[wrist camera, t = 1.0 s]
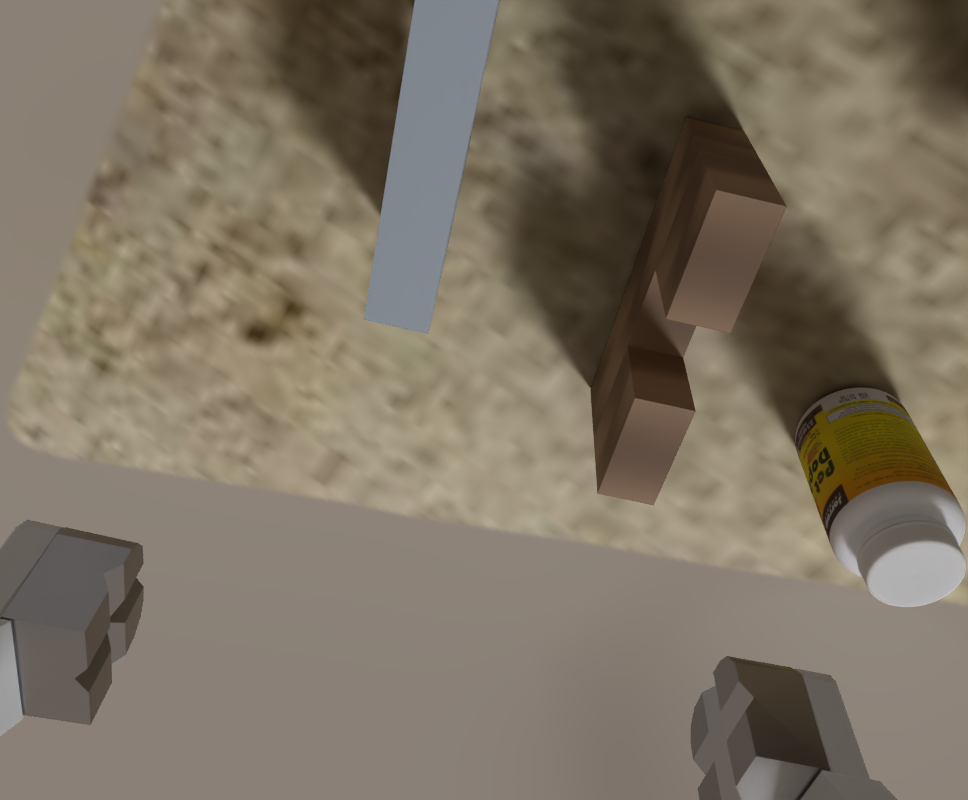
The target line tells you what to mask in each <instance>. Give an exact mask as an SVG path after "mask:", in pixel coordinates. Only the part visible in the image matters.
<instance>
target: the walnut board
mask: <svg viewBox="0 0 968 800" xmlns="http://www.w3.org/2000/svg"><path fill="white" fill-rule="evenodd" d="M786 207H787V206H786V205H785V203H784V201H783V199H782V198H781V196H780V194H779V192H778V190H777V189H776V187H775V185H774V183H773V182H772V180H771V178H770V176H769V175H768V173H767V171H766V169H765V167H764V166H763V164H762V162H761V160H760V159H759V157H758V155H757V153H756V151H755V150H754V148H753V146H752V144H751V143H750V141H749V139H748V137H747V135H746V134H745V132H744V131H742V130H738V129H733V128H729V127H725V126H721V125H717V124H713V123H709V122H705V121H700V120H696V119H692V118H688V117H686V119H685V122H684V125H683V128H682V130H681V133H680V136H679V139H678V142H677V145H676V148H675V150H674V153H673V156H672V159H671V162H670V165H669V167H668V170H667V173H666V176H665V179H664V182H663V184H662V187H661V190H660V193H659V196H658V199H657V201H656V204H655V207H654V210H653V213H652V216H651V219H650V221H649V224H648V227H647V230H646V233H645V236H644V238H643V241H642V244H641V247H640V250H639V253H638V255H637V258H636V261H635V264H634V267H633V270H632V273H631V275H630V278H629V281H628V284H627V287H626V290H625V292H624V295H623V298H622V301H621V304H620V307H619V309H618V312H617V315H616V318H615V321H614V324H613V326H612V329H611V332H610V335H609V338H608V341H607V344H606V346H605V349H604V352H603V355H602V358H601V361H600V363H599V366H598V369H597V372H596V375H595V378H594V380H593V383H592V386H591V403H592V418H593V433H594V447H595V462H596V477H597V492H598V494H602V495H607V496H612V497H617V498H622V499H626V500H631V501H636V502H641V503H645V504H650V505H654V503H655V501H656V499H657V497H658V494H659V492H660V490H661V488H662V485H663V483H664V481H665V479H666V476H667V474H668V472H669V470H670V467H671V465H672V463H673V461H674V458H675V456H676V454H677V452H678V449H679V447H680V445H681V443H682V440H683V438H684V436H685V434H686V431H687V429H688V427H689V425H690V422H691V420H692V418H693V416H694V413H695V407H694V403H693V398H692V394H691V390H690V385H689V381H688V377H687V373H686V368H685V364H684V360H683V357H684V354H685V352H686V349H687V347H688V345H689V342H690V340H691V337H692V335H693V332H694V330H695V328H696V326H700V327H704V328H709V329H713V330H718V331H722V332H727V333H731V330H732V328H733V326H734V324H735V321H736V319H737V317H738V315H739V312H740V310H741V308H742V306H743V303H744V301H745V299H746V297H747V294H748V292H749V290H750V288H751V285H752V283H753V281H754V279H755V276H756V274H757V272H758V270H759V267H760V265H761V263H762V261H763V258H764V256H765V254H766V252H767V249H768V247H769V245H770V243H771V240H772V238H773V236H774V234H775V231H776V229H777V227H778V225H779V222H780V220H781V218H782V216H783V213H784V211H785V209H786Z"/></svg>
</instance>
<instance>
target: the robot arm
mask: <svg viewBox="0 0 968 800" xmlns="http://www.w3.org/2000/svg"><path fill="white" fill-rule="evenodd" d="M142 565H143V546H142V545H140V544H139V543H135V542H130V541H125V540H121V539H116V538H112V537H107V536H103V535H98V534H93V533H89V532H84V531H80V530H75V529H70V528H66V527H65V528H64V527H59V526H54V525H50V524H45V523H40V522H35V521H31V520H26V521H25V522H23V523H22V524H20V525H19V526H17V527H16V528H15V529H14V531H13V532H12V533H11V535H10V536H9V537H8V539H7V540H6V541H5V543H4V544H3V546H2V547H1V548H0V736H1V735H2V734H4V733H5V732H6V731H8V730H9V729H10V728H12V727H13V726H14V725H16V724H17V723H18V722H20V721H21V720H22V719H23V715H27V716H34V717H41V718H47V719H55V720H61V721H68V722H74V723H81V724H88V725H91V723H92V721H93V719H94V717H95V715H96V713H97V711H98V709H99V707H100V705H101V703H102V701H103V699H104V697H105V695H106V693H107V691H108V689H109V687H110V685H111V683H112V663H113V662H115V661H116V660H118V659H120V658H121V657H123V656H124V655H126V653H127V651H128V649H129V647H130V644H131V643H132V640H133V638H134V636H135V633H136V630H137V626H138V623H139V620H140V617H141V612H142V606H143V594H144V592H143V590H144V587H143V586H142V584H141V583H140V582H139V581H138V579H137V578H136V577H137V575H138V573H139V571H140V569H141V567H142ZM713 674H714V679H715V684H716V686H714V687H712V688H710V689H709V690H706V691H704V692H702V694H701V696H700V698H699V700H698V702H697V704H696V706H695V708H694V713H693V718H692V723H691V748H692V754H693V760H694V761H695V762H696V763H697V764H698V766H699V767H700V768H701V770H702V771H703V772H704V774H705V775H706V776H705V777H704V779H703V781H702V783H701V784H700V786H699V788H698V792H699V799H700V800H897V799H896V798H895V797H894V796H893V795H892V793H891V792H890V791H888V789H887V788H886V787H885V786H884V785H883V784H882V783H881V782H880V781H876V780H871V779H870V778H869V775H868V772H867V770H866V767H865V764H864V761H863V758H862V755H861V752H860V749H859V746H858V743H857V740H856V738H855V735H854V732H853V729H852V726H851V723H850V721H849V718H848V715H847V712H846V709H845V706H844V703H843V700H842V697H841V695H840V692H839V689H838V686H837V683H836V681H835V680H834V679H833V678H832V677H831V676H830V675H827V674H821V673H816V672H811V671H805V670H800V669H792V668H791V667H785V666H779V665H774V664H768V663H763V662H757V661H752V660H746V659H741V658H735V657H729V656H726V657H725V658H723V659H722V660H721V661H720V662H719V664H718V665H717V667H716V669H715V671H714V672H713Z"/></svg>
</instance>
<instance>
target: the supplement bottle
mask: <svg viewBox="0 0 968 800" xmlns="http://www.w3.org/2000/svg"><path fill="white" fill-rule="evenodd" d="M795 445H796V450H797V453H798V456H799V459H800V462H801V465H802V467H803V470H804V473H805V476H806V478H807V481H808V484H809V486H810V489H811V493H812V495H813V498H814V500H815V503H816V506H817V509H818V512H819V514H820V517H821V520H822V523H823V525H824V528H825V531H826V534H827V536H828V539H829V542H830V545H831V547H832V549H833V552H834V554H835V556H836V557H837V559H838V560H839V562H840V563H841V564H842V565H843V566H844V567H845V568H847V569H848V570H849V571H851V572H853V573H854V574H856V575H858V576H861V577H863V579H864V581H865V583H866V585H867V588H868V589H869V591H870V592H871V594H872V595H873V596H874V597H875V598H877V599H878V600H880V601H882V602H884V603H886V604H889V605H893V606H899V607H912V606H920V605H925V604H929V603H932V602H934V601H937V600H939V599H941V598H943V597H945V596H946V595H948V594H949V593H951V592H952V591H953V590H954V589H955V588H956V587H957V586H958V585H959V584H960V582H961V581H962V579H963V577H964V575H965V572H966V560H965V557H964V555H963V553H962V551H961V549H960V547H959V546H960V544H961V542H962V540H963V537H964V534H965V528H966V526H965V516H964V513H963V511H962V508H961V506H960V504H959V502H958V501H957V499H956V497H955V495H954V494H953V492H952V490H951V488H950V487H949V485H948V483H947V481H946V480H945V478H944V476H943V474H942V473H941V471H940V469H939V467H938V465H937V464H936V462H935V460H934V458H933V457H932V455H931V453H930V451H929V449H928V448H927V446H926V444H925V442H924V441H923V439H922V437H921V435H920V434H919V432H918V430H917V428H916V426H915V425H914V423H913V421H912V419H911V418H910V416H909V414H908V413H907V411H906V409H905V408H904V406H903V405H902V404H901V403H900V402H899V401H898V400H897V399H896V398H894V397H893V396H891V395H890V394H888V393H886V392H883V391H881V390H877V389H873V388H849V389H844V390H840V391H837V392H834V393H832V394H829V395H827V396H825V397H823V398H822V399H820V400H819V401H817V402H816V403H814V404H813V405H812V406H811V407H810V408H809V409H808V410H807V411H806V412H805V414H804V415H803V417H802V418H801V420H800V422H799V424H798V426H797V430H796V435H795Z"/></svg>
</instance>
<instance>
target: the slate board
mask: <svg viewBox="0 0 968 800" xmlns="http://www.w3.org/2000/svg"><path fill="white" fill-rule="evenodd" d="M499 1H500V0H415V3H414V9H413V15H412V21H411V28H410V34H409V40H408V47H407V53H406V59H405V65H404V72H403V78H402V84H401V90H400V97H399V103H398V109H397V115H396V122H395V128H394V134H393V140H392V147H391V153H390V159H389V165H388V172H387V178H386V184H385V190H384V197H383V203H382V209H381V215H380V222H379V228H378V234H377V241H376V247H375V253H374V259H373V266H372V272H371V278H370V284H369V291H368V297H367V303H366V309H365V316H364V320H368V321H372V322H377V323H381V324H386V325H391V326H395V327H400V328H404V329H409V330H413V331H418V332H423V333H427V334H428V332H429V328H430V323H431V319H432V314H433V310H434V305H435V301H436V296H437V292H438V287H439V283H440V278H441V274H442V269H443V265H444V260H445V256H446V251H447V247H448V242H449V237H450V232H451V228H452V223H453V218H454V214H455V209H456V204H457V199H458V195H459V190H460V185H461V181H462V176H463V171H464V166H465V162H466V157H467V152H468V148H469V143H470V138H471V131H472V127H473V122H474V117H475V112H476V108H477V103H478V98H479V94H480V89H481V84H482V79H483V75H484V70H485V66H486V61H487V57H488V53H489V48H490V44H491V39H492V34H493V30H494V25H495V20H496V16H497V11H498V6H499Z"/></svg>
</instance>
